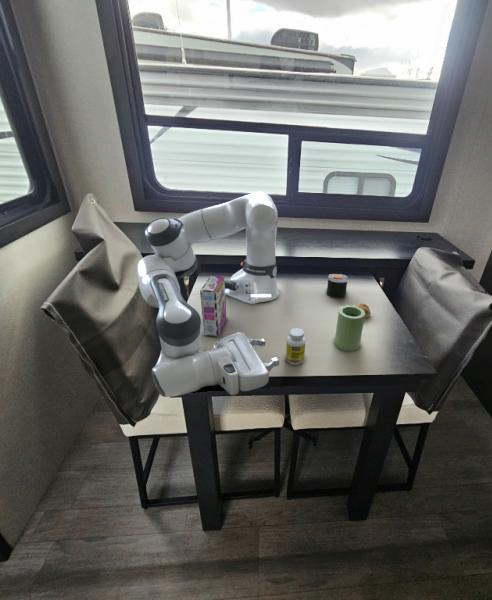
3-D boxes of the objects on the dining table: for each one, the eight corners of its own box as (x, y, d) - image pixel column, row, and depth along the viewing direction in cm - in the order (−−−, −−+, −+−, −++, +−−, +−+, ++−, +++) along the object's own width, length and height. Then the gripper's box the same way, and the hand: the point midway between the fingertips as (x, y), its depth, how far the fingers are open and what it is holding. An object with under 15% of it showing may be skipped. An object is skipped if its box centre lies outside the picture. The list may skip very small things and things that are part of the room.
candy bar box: (219, 337, 101) (215, 291, 93) (203, 336, 101) (198, 290, 93) (227, 318, 111) (224, 276, 103) (213, 317, 111) (209, 275, 103)
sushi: (345, 298, 129) (348, 281, 125) (325, 296, 130) (327, 278, 126) (346, 290, 136) (348, 273, 132) (327, 287, 137) (329, 271, 133)
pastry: (354, 323, 113) (355, 314, 111) (341, 315, 117) (342, 306, 115) (371, 315, 118) (373, 307, 116) (358, 308, 123) (359, 299, 121)
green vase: (332, 347, 100) (336, 314, 94) (338, 333, 106) (342, 303, 101) (356, 353, 98) (362, 320, 92) (361, 339, 104) (367, 308, 99)
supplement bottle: (289, 366, 90) (291, 339, 86) (283, 355, 95) (284, 328, 90) (307, 362, 93) (309, 335, 88) (299, 351, 97) (301, 325, 92)
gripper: (212, 351, 91) (257, 340, 97) (234, 400, 75) (286, 382, 81) (210, 333, 88) (257, 322, 94) (233, 380, 72) (287, 363, 78)
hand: (271, 351), depth 88 cm, fingers open, 8 cm apart
